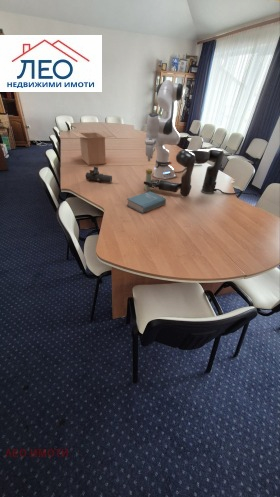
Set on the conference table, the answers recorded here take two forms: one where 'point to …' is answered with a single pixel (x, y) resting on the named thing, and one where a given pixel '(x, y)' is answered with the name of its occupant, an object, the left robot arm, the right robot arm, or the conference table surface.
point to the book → (146, 201)
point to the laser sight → (98, 176)
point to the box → (92, 146)
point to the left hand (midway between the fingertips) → (150, 159)
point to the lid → (149, 171)
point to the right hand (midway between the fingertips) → (144, 181)
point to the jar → (148, 179)
